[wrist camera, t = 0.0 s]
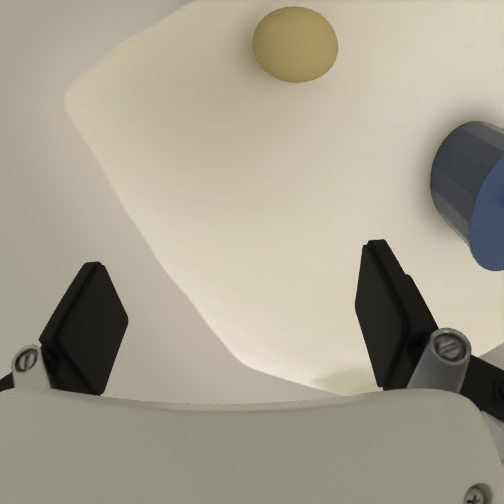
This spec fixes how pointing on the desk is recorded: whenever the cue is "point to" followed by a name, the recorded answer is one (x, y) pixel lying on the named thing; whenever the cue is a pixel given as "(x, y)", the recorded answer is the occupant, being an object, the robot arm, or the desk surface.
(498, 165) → the pot lid
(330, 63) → the light bulb
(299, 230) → the desk surface
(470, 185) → the pot
